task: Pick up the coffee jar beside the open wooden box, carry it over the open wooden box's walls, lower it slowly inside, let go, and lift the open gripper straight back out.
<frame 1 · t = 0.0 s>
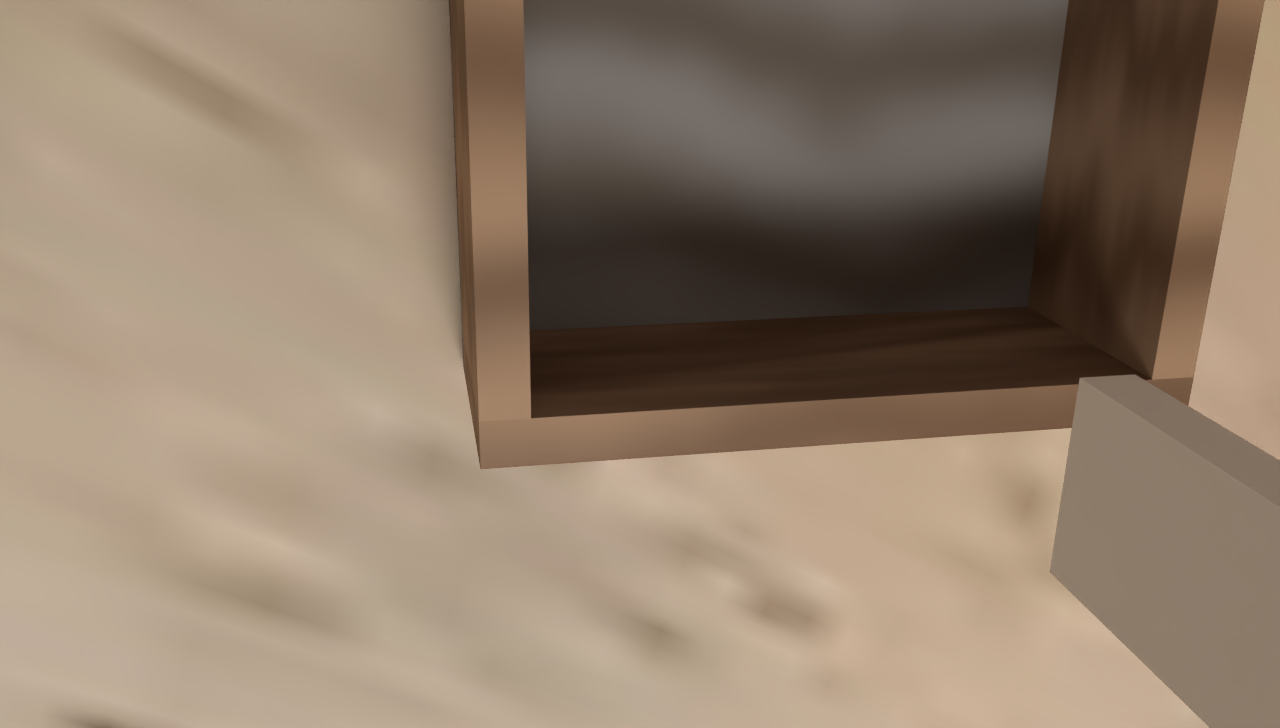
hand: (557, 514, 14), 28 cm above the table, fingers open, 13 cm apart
open wooden box: (787, 35, 41), on the table
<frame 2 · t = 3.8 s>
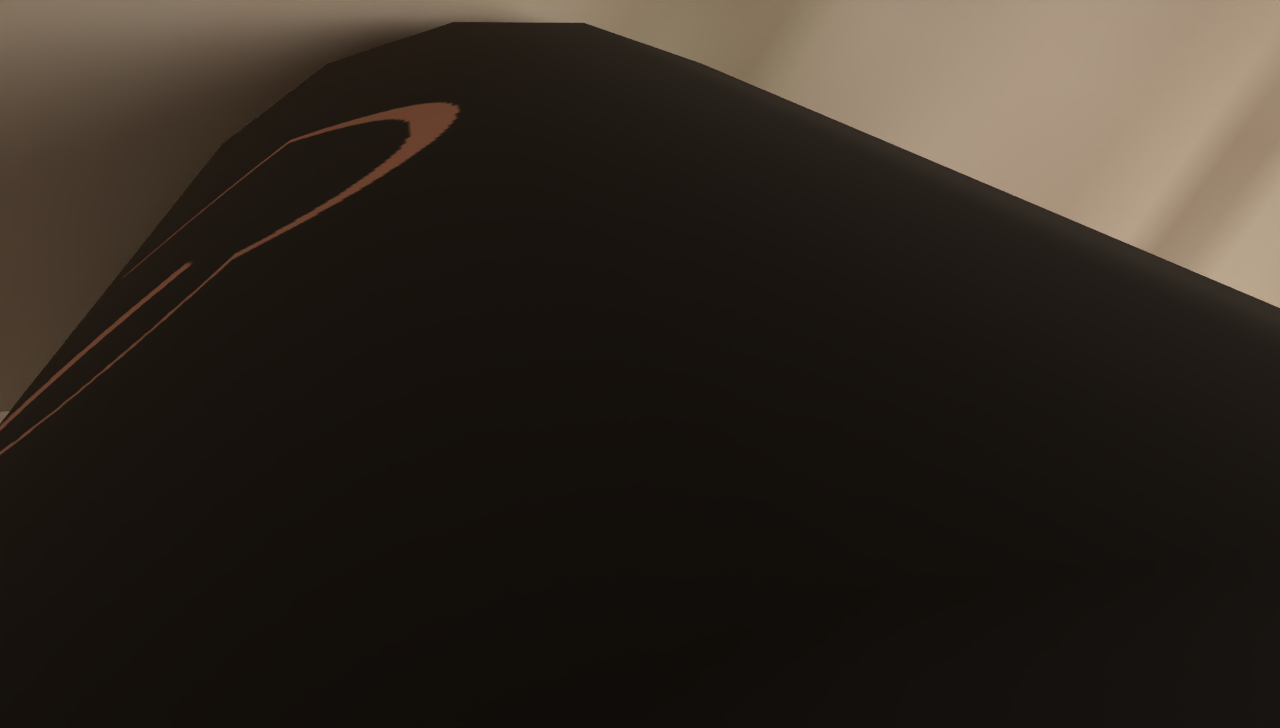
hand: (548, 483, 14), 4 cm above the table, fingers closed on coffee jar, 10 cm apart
coffee jar: (515, 369, 18), on the table, touching gripper
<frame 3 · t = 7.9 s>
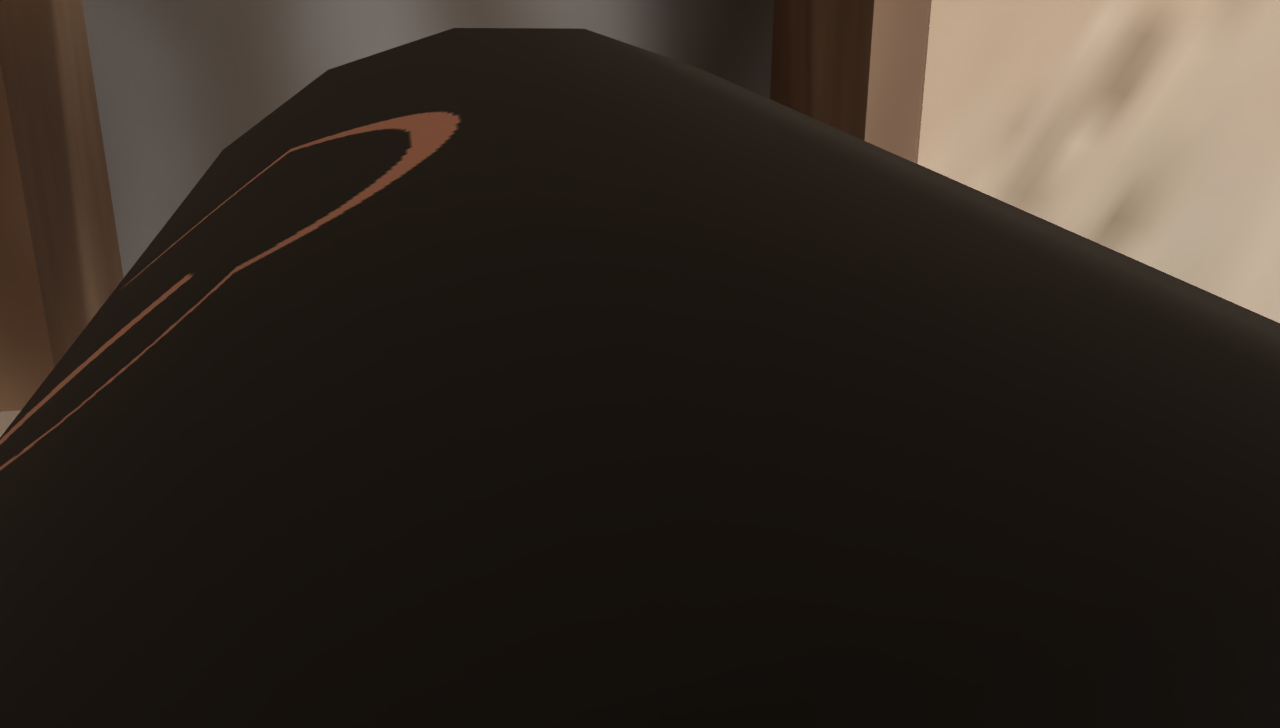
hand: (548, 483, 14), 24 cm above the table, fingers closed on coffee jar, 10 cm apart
open wooden box: (452, 123, 36), on the table
coffee jar: (515, 373, 18), point 20 cm above the table, touching gripper
when the fingers open (7 cm above the table, at t = 11.9 s): coffee jar drops 2 cm, resting on open wooden box.
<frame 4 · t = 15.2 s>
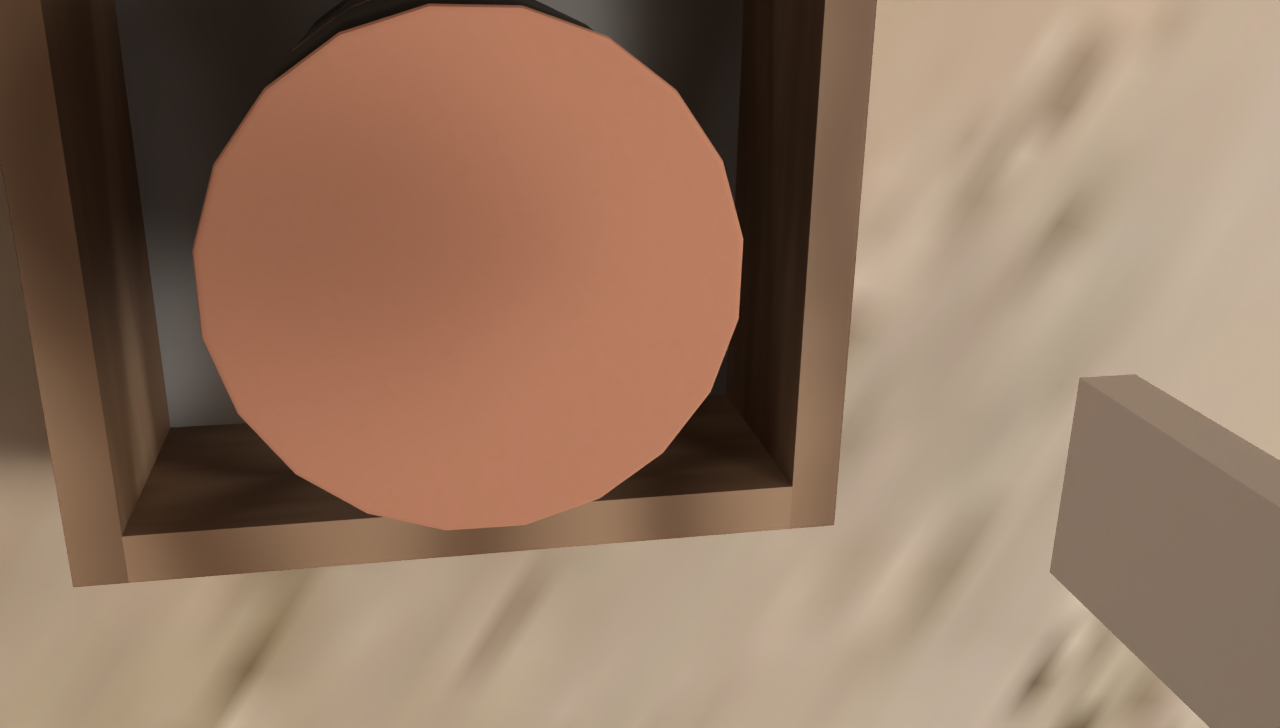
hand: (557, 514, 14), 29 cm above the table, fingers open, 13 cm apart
open wooden box: (448, 130, 40), on the table
coffee jar: (442, 136, 39), point 1 cm above the table, touching open wooden box
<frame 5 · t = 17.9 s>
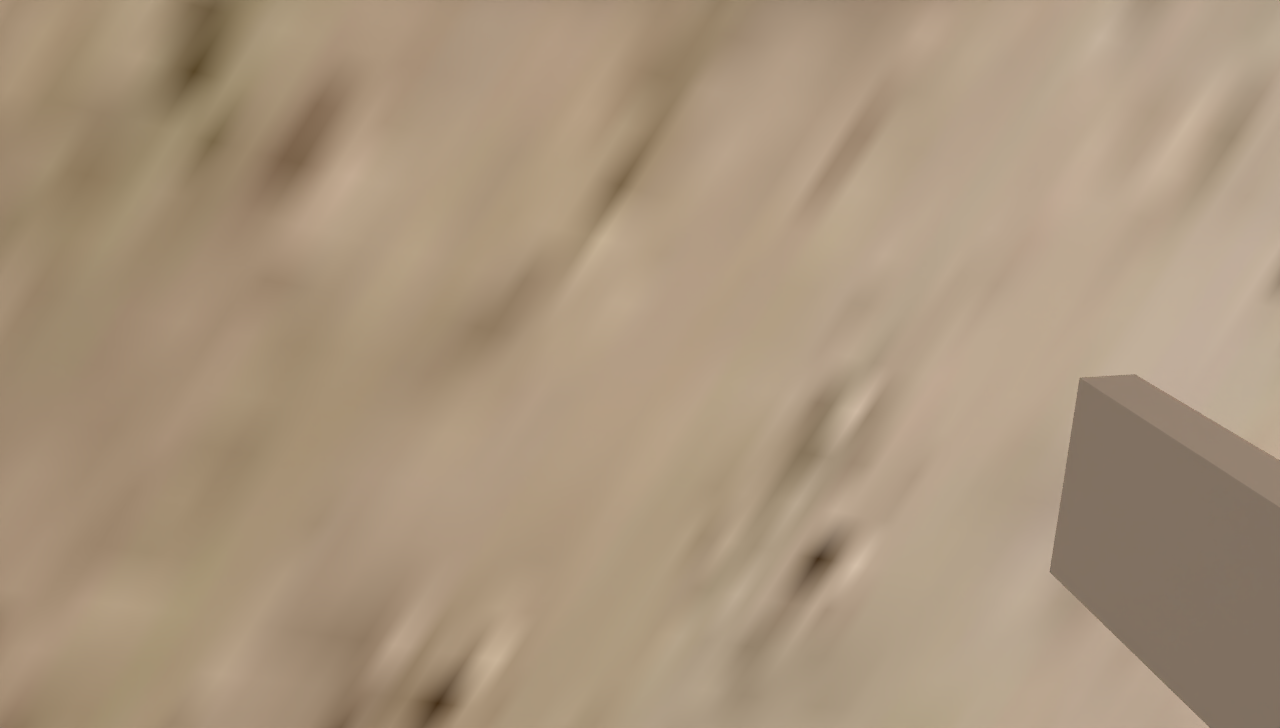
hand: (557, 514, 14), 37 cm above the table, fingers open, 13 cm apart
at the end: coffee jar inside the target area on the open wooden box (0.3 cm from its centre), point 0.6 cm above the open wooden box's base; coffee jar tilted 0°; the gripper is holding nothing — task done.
